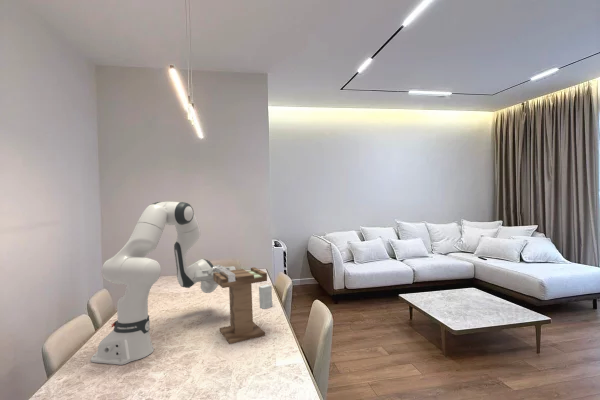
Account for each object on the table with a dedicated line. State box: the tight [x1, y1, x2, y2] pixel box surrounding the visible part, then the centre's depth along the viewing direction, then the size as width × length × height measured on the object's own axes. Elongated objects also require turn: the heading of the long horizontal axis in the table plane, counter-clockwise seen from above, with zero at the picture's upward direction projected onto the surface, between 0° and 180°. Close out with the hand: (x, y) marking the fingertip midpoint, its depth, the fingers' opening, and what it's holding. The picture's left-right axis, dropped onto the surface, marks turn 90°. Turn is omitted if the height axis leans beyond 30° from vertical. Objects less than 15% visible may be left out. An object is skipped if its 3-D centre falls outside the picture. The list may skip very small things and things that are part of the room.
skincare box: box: [258, 284, 273, 310], centre depth 188 cm, size 6×4×12 cm
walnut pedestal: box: [213, 266, 268, 345], centre depth 152 cm, size 16×20×28 cm
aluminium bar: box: [212, 264, 235, 282], centre depth 154 cm, size 26×3×3 cm, turn 28°
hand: (218, 268), depth 162 cm, fingers closed on aluminium bar, 3 cm apart
